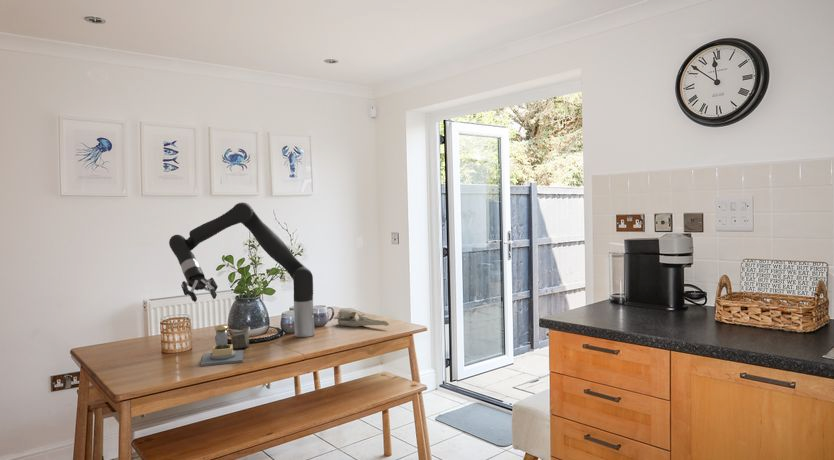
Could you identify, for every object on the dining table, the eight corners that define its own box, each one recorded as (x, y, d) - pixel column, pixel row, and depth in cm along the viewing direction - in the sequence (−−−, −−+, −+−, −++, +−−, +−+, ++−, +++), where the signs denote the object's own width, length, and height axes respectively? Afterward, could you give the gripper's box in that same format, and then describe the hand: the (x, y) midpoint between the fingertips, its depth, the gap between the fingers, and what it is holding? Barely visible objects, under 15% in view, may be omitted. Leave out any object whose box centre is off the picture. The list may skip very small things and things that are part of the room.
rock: (224, 333, 251) (245, 325, 256) (229, 347, 252) (249, 338, 257) (230, 340, 236) (252, 331, 241) (235, 354, 237) (257, 345, 241)
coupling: (231, 351, 227) (230, 325, 227) (224, 354, 222) (223, 327, 221) (219, 351, 228) (218, 324, 227) (213, 354, 223) (212, 327, 222)
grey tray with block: (243, 352, 235) (243, 340, 234) (242, 362, 219) (242, 350, 219) (204, 355, 230) (203, 344, 230) (200, 366, 215) (200, 354, 214)
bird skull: (385, 326, 268) (383, 307, 268) (334, 328, 284) (332, 310, 284) (394, 323, 275) (392, 304, 276) (344, 325, 291) (342, 307, 292)
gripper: (178, 267, 233) (191, 296, 226) (210, 264, 244) (223, 291, 236) (174, 278, 237) (186, 307, 230) (205, 274, 248) (218, 302, 240)
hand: (205, 299), depth 233 cm, fingers open, 8 cm apart
